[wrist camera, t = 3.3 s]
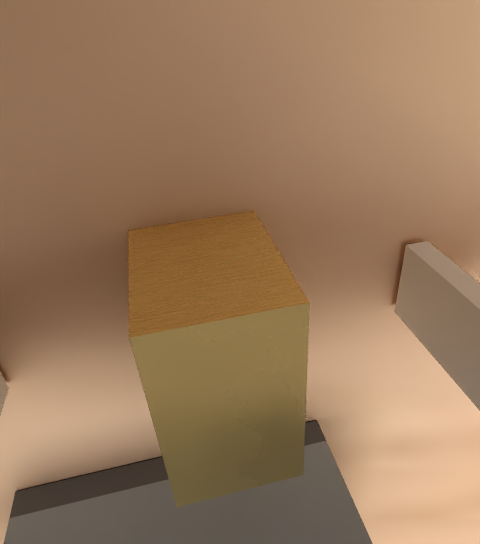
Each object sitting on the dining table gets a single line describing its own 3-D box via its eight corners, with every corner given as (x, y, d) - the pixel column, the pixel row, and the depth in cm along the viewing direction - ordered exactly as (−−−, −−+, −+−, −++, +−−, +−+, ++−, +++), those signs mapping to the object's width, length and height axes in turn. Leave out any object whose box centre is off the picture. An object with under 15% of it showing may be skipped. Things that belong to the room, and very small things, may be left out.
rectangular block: (128, 228, 12) (129, 337, 8) (253, 209, 12) (309, 303, 8) (164, 380, 15) (176, 507, 11) (260, 360, 15) (303, 475, 12)
